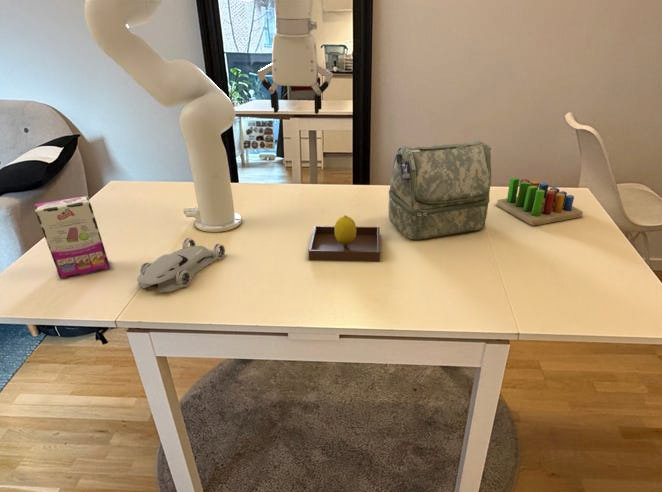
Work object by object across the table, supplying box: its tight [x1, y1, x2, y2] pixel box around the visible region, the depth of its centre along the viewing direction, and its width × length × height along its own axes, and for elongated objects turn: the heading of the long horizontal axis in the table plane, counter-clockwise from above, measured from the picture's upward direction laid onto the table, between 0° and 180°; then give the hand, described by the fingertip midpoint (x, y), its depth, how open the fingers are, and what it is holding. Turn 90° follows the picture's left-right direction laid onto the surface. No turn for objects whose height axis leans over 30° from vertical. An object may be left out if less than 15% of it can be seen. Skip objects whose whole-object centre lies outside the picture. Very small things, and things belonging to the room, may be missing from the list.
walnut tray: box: [308, 225, 381, 263], centre depth 138 cm, size 17×15×2 cm
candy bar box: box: [34, 195, 111, 280], centre depth 123 cm, size 11×5×16 cm, turn 117°
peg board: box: [496, 176, 584, 226], centre depth 156 cm, size 18×17×9 cm
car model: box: [136, 237, 226, 293], centre depth 126 cm, size 11×24×5 cm, turn 158°
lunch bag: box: [387, 140, 492, 240], centre depth 143 cm, size 26×18×22 cm
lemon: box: [334, 214, 357, 246], centre depth 136 cm, size 6×6×8 cm
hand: (296, 112), depth 129 cm, fingers open, 9 cm apart
